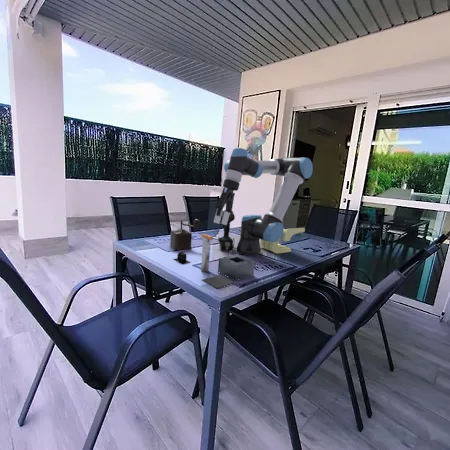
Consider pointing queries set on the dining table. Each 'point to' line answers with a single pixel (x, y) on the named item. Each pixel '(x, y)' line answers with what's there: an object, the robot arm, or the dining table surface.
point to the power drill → (227, 235)
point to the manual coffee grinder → (182, 237)
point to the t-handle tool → (205, 252)
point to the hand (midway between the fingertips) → (220, 223)
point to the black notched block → (181, 258)
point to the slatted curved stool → (285, 237)
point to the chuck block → (236, 266)
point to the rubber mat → (218, 281)
